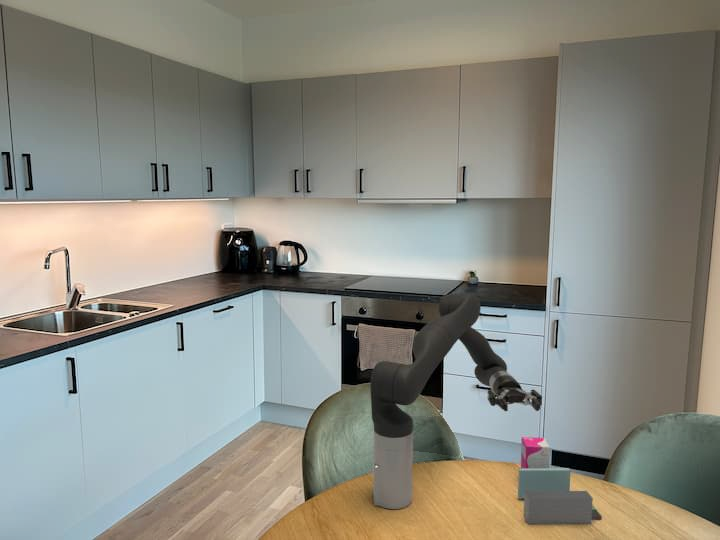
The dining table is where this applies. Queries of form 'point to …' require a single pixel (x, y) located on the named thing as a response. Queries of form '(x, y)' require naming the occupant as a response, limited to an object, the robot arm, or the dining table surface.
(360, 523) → the dining table surface
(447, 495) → the dining table surface
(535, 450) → the supplement box
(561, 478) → the gauge plate
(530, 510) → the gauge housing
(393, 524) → the dining table surface
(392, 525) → the dining table surface
